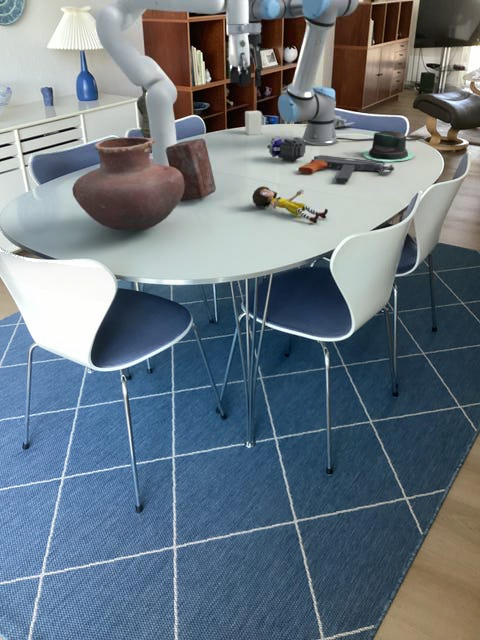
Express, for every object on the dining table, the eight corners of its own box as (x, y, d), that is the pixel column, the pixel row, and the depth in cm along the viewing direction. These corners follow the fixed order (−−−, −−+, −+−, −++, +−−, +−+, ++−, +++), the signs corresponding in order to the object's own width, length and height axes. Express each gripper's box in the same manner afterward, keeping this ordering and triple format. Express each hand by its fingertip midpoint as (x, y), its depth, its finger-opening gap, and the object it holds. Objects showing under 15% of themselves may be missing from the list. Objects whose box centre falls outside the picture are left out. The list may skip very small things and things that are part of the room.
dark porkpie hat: (354, 155, 225) (369, 146, 240) (391, 182, 222) (404, 171, 237) (375, 123, 215) (389, 115, 230) (414, 151, 213) (426, 141, 228)
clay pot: (119, 206, 179) (108, 126, 166) (203, 217, 169) (199, 132, 156) (58, 240, 155) (40, 149, 142) (152, 255, 144) (142, 159, 132)
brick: (261, 133, 269) (261, 112, 264) (248, 134, 267) (248, 113, 262) (257, 131, 273) (257, 110, 268) (245, 132, 272) (245, 111, 267)
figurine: (311, 212, 157) (243, 186, 169) (307, 236, 161) (241, 209, 173) (335, 200, 165) (269, 176, 178) (331, 223, 170) (266, 198, 182)
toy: (275, 134, 227) (308, 138, 220) (275, 155, 231) (307, 159, 224) (264, 138, 221) (297, 142, 214) (264, 160, 225) (297, 164, 218)
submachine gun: (291, 170, 202) (317, 154, 221) (291, 177, 204) (317, 161, 222) (376, 180, 189) (396, 162, 207) (375, 188, 190) (395, 170, 209)
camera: (330, 99, 279) (356, 102, 271) (329, 123, 285) (354, 127, 277) (320, 101, 274) (346, 105, 265) (319, 126, 280) (344, 130, 271)
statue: (170, 147, 247) (164, 74, 232) (162, 152, 239) (156, 77, 224) (146, 146, 250) (139, 74, 234) (138, 151, 242) (130, 77, 226)
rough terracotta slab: (94, 159, 190) (189, 144, 170) (112, 152, 198) (205, 137, 178) (110, 208, 198) (203, 199, 177) (127, 200, 205) (218, 190, 185)
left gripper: (256, 30, 182) (256, 87, 190) (240, 28, 196) (241, 80, 205) (234, 31, 180) (235, 88, 188) (220, 29, 194) (221, 82, 203)
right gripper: (270, 34, 239) (269, 87, 250) (251, 32, 260) (252, 81, 270) (253, 35, 237) (253, 88, 248) (236, 32, 258) (237, 81, 269)
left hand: (238, 84), depth 196 cm, fingers open, 9 cm apart
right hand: (253, 84), depth 259 cm, fingers open, 13 cm apart
